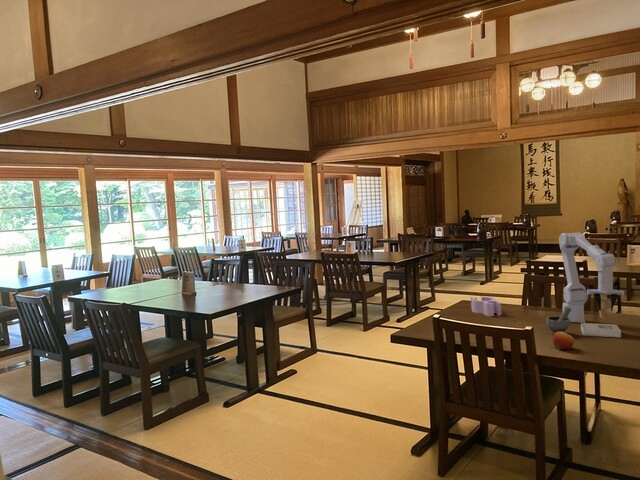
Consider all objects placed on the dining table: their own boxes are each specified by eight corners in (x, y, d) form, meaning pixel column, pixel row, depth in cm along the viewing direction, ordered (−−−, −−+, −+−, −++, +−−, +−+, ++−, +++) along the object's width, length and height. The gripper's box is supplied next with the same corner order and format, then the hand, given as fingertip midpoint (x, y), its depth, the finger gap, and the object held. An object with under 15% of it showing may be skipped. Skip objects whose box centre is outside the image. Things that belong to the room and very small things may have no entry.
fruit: (544, 343, 208) (554, 326, 208) (559, 351, 209) (569, 335, 209) (555, 348, 200) (565, 331, 200) (571, 357, 201) (580, 340, 201)
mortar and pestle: (553, 337, 221) (553, 310, 219) (541, 331, 230) (541, 306, 229) (577, 335, 222) (577, 309, 221) (564, 329, 231) (564, 304, 230)
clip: (507, 315, 262) (507, 302, 261) (485, 317, 259) (485, 304, 259) (486, 307, 282) (486, 295, 281) (466, 309, 279) (466, 297, 278)
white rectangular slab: (583, 335, 221) (583, 328, 221) (580, 329, 231) (580, 322, 230) (620, 337, 216) (620, 330, 215) (616, 331, 225) (616, 324, 225)
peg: (600, 317, 224) (601, 300, 223) (599, 315, 227) (599, 298, 227) (611, 318, 222) (611, 300, 221) (609, 316, 226) (609, 298, 225)
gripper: (588, 281, 222) (588, 311, 223) (625, 282, 217) (625, 312, 218) (586, 279, 229) (586, 308, 230) (622, 279, 223) (622, 309, 224)
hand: (605, 310), depth 224 cm, fingers closed on peg, 4 cm apart
